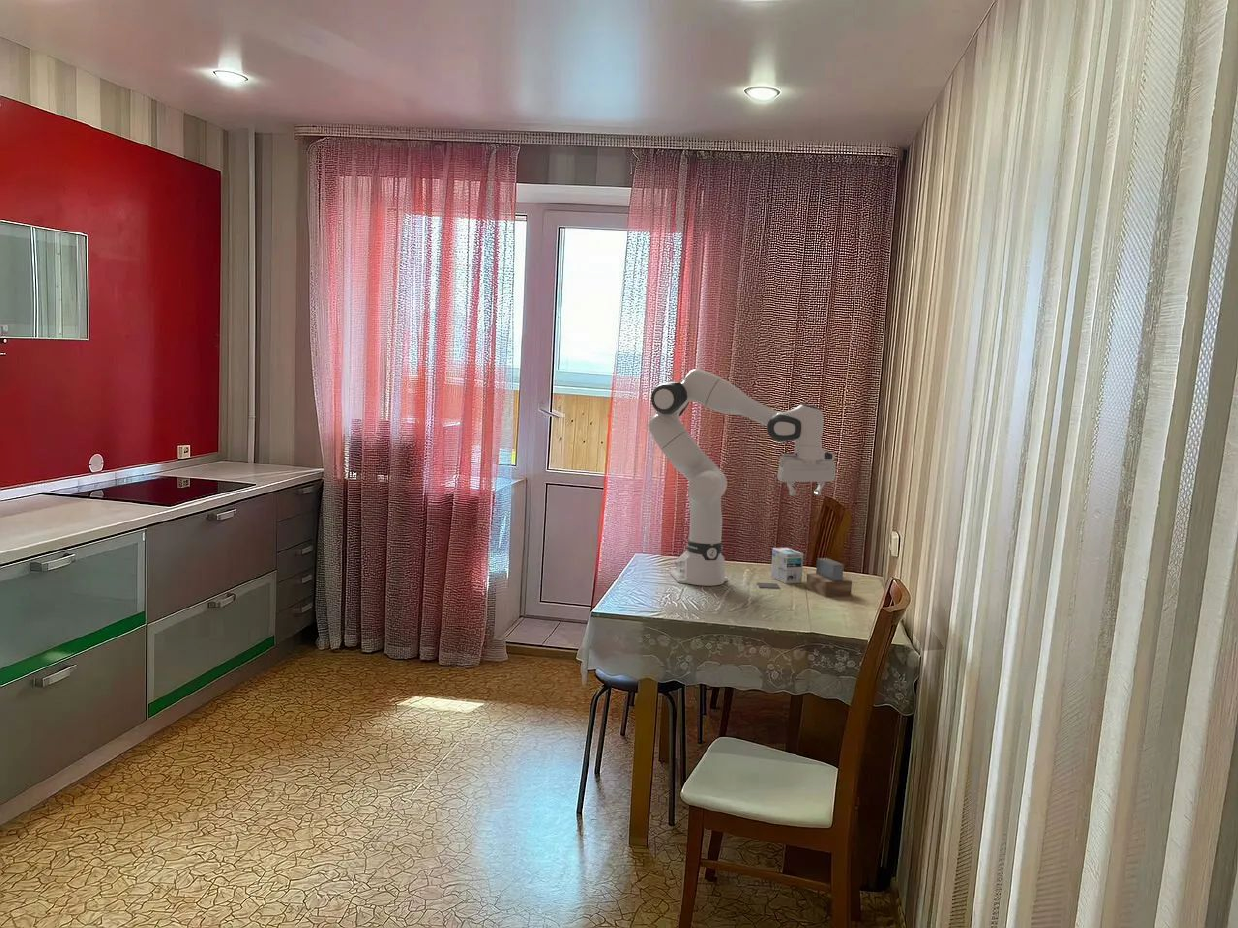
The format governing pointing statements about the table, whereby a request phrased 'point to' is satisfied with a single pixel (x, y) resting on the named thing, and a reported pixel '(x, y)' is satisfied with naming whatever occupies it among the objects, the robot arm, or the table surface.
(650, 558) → the table surface
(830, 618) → the table surface
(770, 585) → the loose cover plate
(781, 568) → the light bulb box
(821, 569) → the metal housing
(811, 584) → the wooden stand
